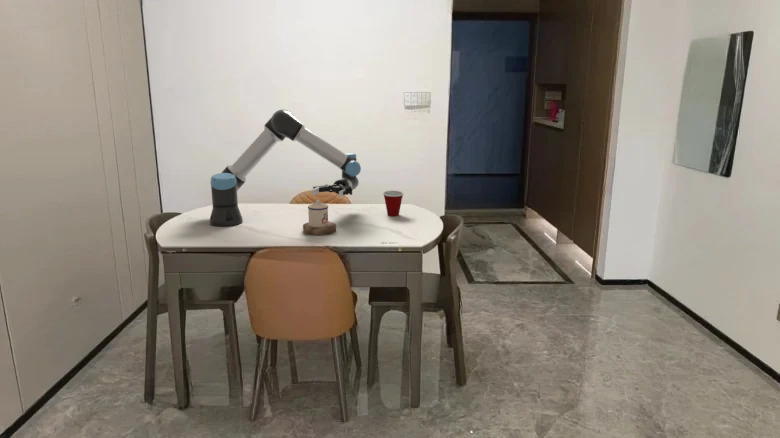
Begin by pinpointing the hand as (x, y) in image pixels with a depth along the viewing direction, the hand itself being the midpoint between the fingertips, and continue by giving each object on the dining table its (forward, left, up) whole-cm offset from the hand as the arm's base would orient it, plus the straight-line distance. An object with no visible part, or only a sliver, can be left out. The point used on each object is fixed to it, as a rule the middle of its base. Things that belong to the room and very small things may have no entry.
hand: (326, 193), depth 254 cm
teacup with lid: (+1, -11, -13) cm, 17 cm away
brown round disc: (+1, -11, -16) cm, 19 cm away
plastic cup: (+25, +30, -16) cm, 42 cm away
